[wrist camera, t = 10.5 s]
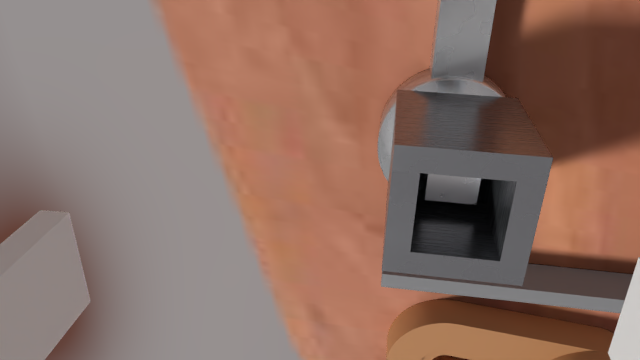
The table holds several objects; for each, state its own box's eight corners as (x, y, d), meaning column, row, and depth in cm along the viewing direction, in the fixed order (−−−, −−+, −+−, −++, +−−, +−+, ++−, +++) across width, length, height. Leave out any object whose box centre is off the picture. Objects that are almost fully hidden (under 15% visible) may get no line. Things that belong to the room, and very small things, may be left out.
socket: (387, 193, 33) (381, 270, 26) (397, 89, 30) (394, 144, 23) (496, 203, 32) (522, 286, 25) (517, 98, 29) (553, 157, 22)
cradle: (384, 248, 38) (382, 273, 35) (658, 277, 36) (679, 306, 33) (369, 394, 44) (367, 425, 42) (603, 426, 42) (616, 460, 40)
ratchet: (408, -204, 27) (408, -239, 21) (579, -202, 26) (634, -237, 20) (375, 182, 36) (368, 239, 30) (500, 193, 35) (520, 254, 29)
